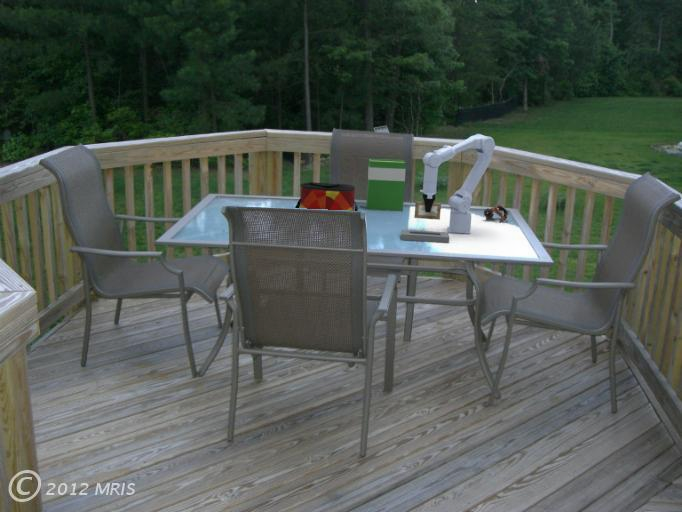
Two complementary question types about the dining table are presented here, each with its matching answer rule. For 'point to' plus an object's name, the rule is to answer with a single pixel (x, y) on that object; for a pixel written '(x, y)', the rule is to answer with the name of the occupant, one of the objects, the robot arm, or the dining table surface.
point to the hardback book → (386, 184)
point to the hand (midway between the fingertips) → (427, 211)
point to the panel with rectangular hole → (425, 236)
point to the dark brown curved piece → (490, 212)
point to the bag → (327, 196)
